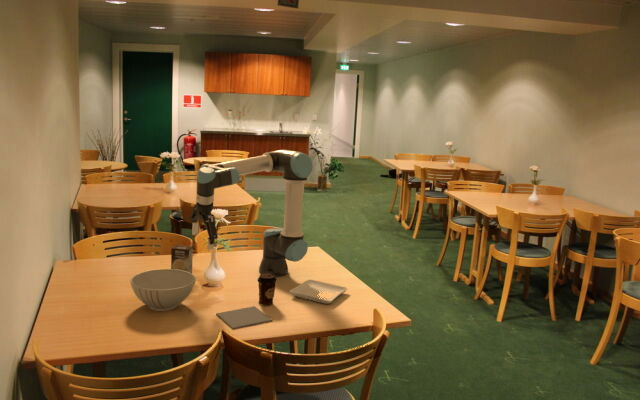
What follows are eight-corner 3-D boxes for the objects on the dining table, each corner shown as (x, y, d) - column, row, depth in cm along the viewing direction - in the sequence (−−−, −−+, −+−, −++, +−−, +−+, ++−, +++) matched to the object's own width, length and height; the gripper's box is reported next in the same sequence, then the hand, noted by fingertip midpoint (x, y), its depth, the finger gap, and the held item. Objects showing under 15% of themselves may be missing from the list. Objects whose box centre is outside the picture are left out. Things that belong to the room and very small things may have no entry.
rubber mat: (254, 307, 245) (254, 306, 245) (272, 320, 232) (272, 319, 232) (216, 314, 235) (216, 313, 235) (232, 329, 222) (232, 327, 222)
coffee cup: (278, 301, 253) (280, 274, 251) (271, 308, 246) (272, 279, 243) (261, 298, 256) (262, 271, 253) (253, 304, 248) (254, 276, 246)
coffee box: (170, 279, 273) (170, 248, 270) (174, 275, 279) (175, 244, 276) (188, 281, 272) (188, 249, 269) (192, 277, 278) (193, 246, 275)
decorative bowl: (136, 322, 224) (136, 293, 221) (125, 298, 247) (125, 272, 245) (202, 313, 236) (203, 285, 234) (186, 291, 259) (186, 266, 257)
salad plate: (348, 293, 270) (348, 286, 269) (330, 308, 251) (330, 300, 250) (308, 285, 278) (308, 278, 277) (288, 298, 259) (288, 291, 258)
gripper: (183, 190, 251) (181, 230, 262) (212, 216, 236) (209, 258, 246) (198, 187, 256) (196, 226, 266) (227, 212, 241) (224, 253, 251)
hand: (202, 241), depth 256 cm, fingers open, 13 cm apart
